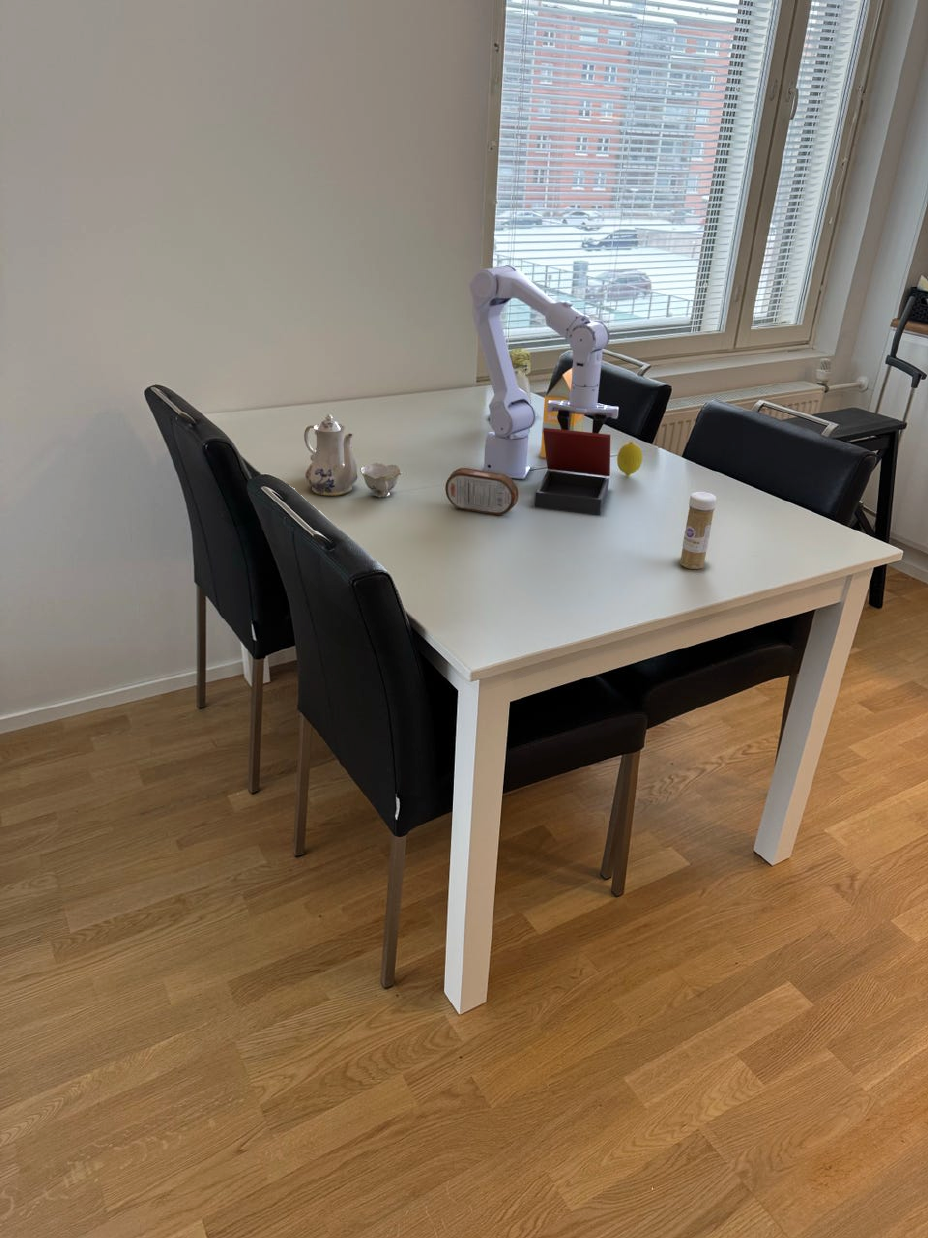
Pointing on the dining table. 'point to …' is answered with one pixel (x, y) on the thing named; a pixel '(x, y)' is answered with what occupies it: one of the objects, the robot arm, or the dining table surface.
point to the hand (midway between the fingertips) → (579, 447)
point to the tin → (481, 491)
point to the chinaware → (342, 464)
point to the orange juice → (550, 418)
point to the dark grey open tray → (572, 492)
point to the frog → (521, 369)
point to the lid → (577, 451)
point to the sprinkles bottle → (697, 530)
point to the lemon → (629, 458)
